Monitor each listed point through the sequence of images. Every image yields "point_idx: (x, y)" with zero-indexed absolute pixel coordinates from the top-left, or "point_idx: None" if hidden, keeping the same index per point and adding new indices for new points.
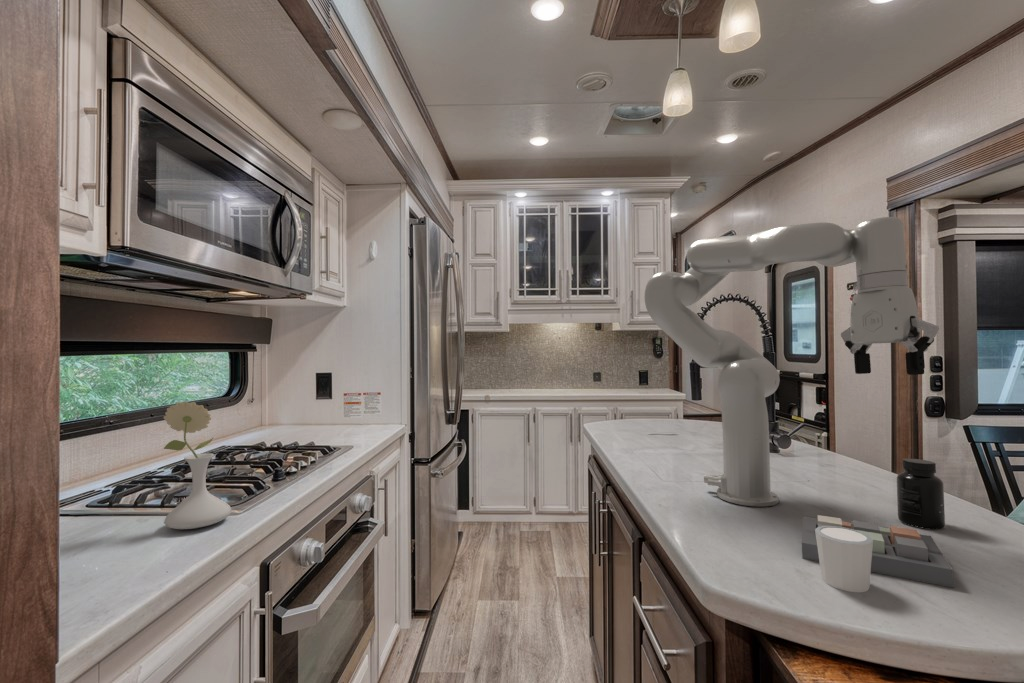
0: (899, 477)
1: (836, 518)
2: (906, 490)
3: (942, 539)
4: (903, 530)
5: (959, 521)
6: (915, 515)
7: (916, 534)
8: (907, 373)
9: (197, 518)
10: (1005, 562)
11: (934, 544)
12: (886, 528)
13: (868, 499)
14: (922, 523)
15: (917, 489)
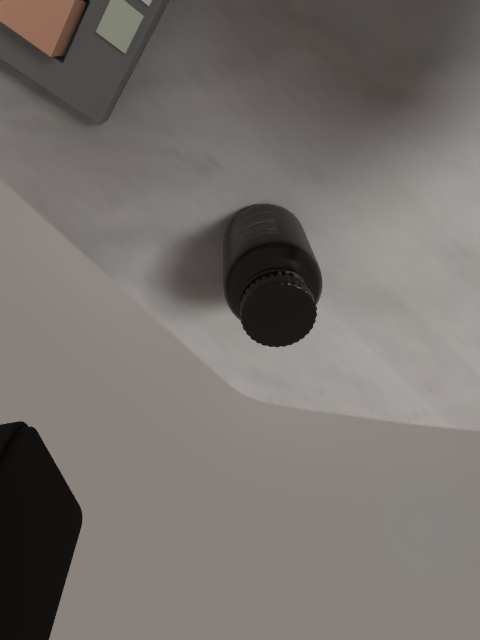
0: (291, 248)
1: None
2: (262, 233)
3: (175, 206)
4: (39, 9)
5: None
6: (242, 218)
7: (11, 21)
8: (28, 427)
9: None
10: (64, 221)
11: (41, 81)
12: (130, 36)
13: (431, 260)
14: (233, 221)
15: (239, 247)
